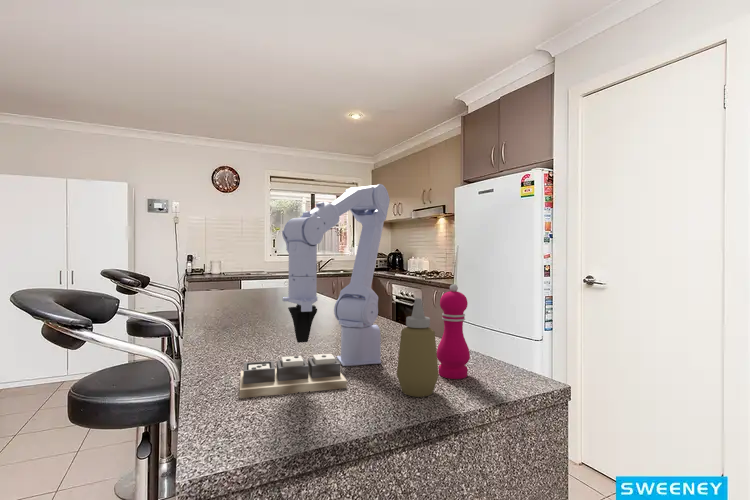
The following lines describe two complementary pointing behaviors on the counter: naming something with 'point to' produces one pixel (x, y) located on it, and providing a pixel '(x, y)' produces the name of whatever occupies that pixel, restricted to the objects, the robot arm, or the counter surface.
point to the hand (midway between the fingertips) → (302, 341)
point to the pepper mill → (453, 336)
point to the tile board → (290, 378)
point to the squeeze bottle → (417, 355)
